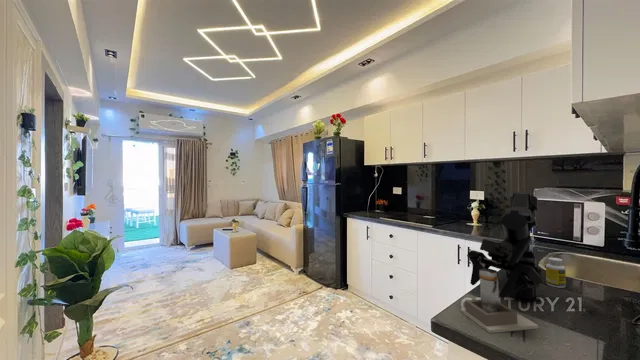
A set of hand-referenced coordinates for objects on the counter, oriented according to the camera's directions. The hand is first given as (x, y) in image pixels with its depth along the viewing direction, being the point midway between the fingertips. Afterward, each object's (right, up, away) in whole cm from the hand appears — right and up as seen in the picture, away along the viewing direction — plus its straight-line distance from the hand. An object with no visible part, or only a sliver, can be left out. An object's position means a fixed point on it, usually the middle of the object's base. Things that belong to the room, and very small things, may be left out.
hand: (485, 290), depth 75 cm
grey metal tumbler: (+2, -8, 0) cm, 8 cm away
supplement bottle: (+40, -8, +23) cm, 47 cm away
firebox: (+4, -8, +1) cm, 9 cm away
